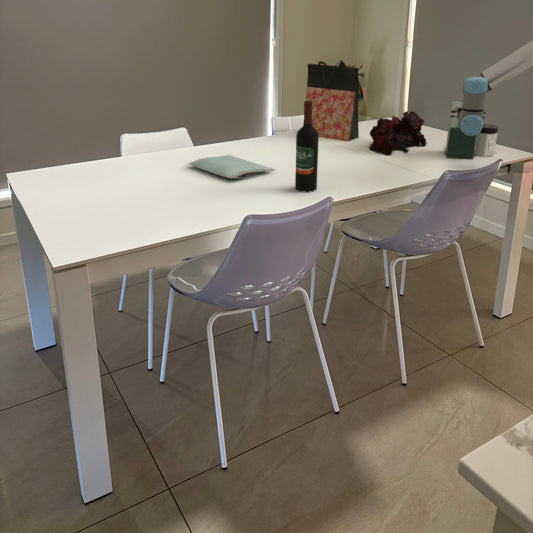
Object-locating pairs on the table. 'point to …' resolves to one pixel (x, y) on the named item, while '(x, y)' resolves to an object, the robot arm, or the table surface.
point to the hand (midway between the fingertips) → (465, 107)
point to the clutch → (228, 166)
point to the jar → (486, 140)
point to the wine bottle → (306, 153)
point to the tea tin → (459, 144)
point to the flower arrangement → (397, 134)
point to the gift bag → (334, 100)
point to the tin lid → (454, 120)
